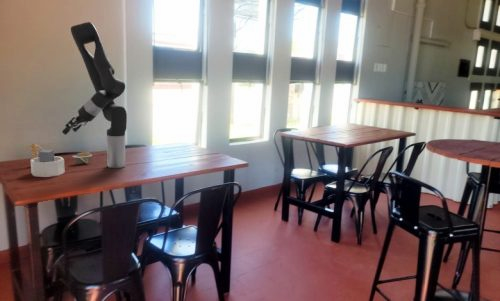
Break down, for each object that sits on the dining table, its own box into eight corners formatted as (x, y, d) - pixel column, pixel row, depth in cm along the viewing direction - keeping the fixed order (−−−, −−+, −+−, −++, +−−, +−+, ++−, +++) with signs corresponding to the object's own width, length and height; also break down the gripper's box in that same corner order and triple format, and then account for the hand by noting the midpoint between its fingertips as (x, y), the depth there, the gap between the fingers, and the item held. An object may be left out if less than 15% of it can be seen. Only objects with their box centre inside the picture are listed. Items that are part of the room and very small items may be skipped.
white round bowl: (43, 168, 196) (42, 155, 194) (69, 170, 195) (68, 157, 193) (25, 175, 182) (24, 161, 181) (53, 177, 181) (52, 163, 180)
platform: (103, 164, 212) (103, 153, 211) (69, 168, 200) (69, 156, 198) (95, 160, 220) (95, 149, 219) (62, 164, 208) (61, 152, 207)
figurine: (27, 168, 196) (26, 145, 193) (25, 165, 200) (24, 142, 198) (45, 166, 201) (44, 143, 198) (43, 163, 205) (41, 141, 203)
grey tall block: (45, 169, 190) (44, 149, 188) (54, 170, 190) (53, 150, 188) (40, 171, 186) (39, 151, 184) (49, 172, 185) (48, 152, 183)
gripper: (92, 102, 187) (71, 124, 190) (77, 104, 173) (54, 128, 176) (103, 113, 187) (82, 135, 191) (88, 117, 173) (66, 140, 177)
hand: (68, 131), depth 183 cm, fingers open, 8 cm apart
